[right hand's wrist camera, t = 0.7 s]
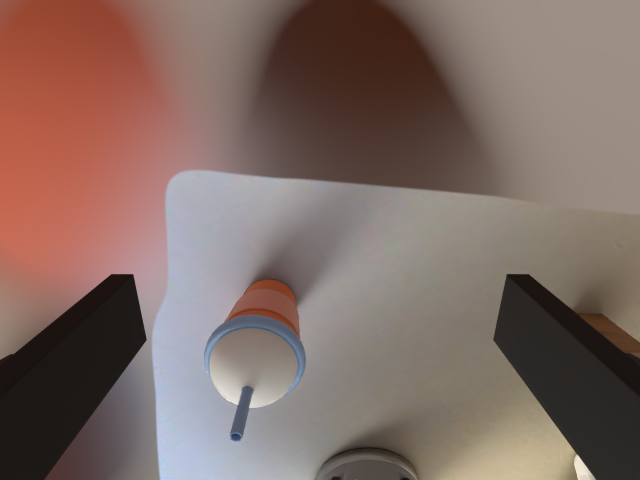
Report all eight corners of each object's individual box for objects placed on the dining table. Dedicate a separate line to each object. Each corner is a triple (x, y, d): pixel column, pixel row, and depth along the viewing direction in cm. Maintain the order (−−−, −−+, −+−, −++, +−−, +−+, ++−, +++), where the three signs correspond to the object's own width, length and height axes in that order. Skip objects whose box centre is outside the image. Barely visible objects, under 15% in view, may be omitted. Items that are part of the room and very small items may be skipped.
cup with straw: (297, 258, 40) (280, 374, 23) (317, 326, 43) (315, 470, 26) (219, 276, 41) (148, 400, 24) (244, 341, 44) (197, 490, 27)
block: (592, 342, 44) (639, 384, 38) (560, 341, 44) (601, 383, 37) (602, 314, 43) (653, 352, 36) (569, 313, 43) (614, 352, 36)
